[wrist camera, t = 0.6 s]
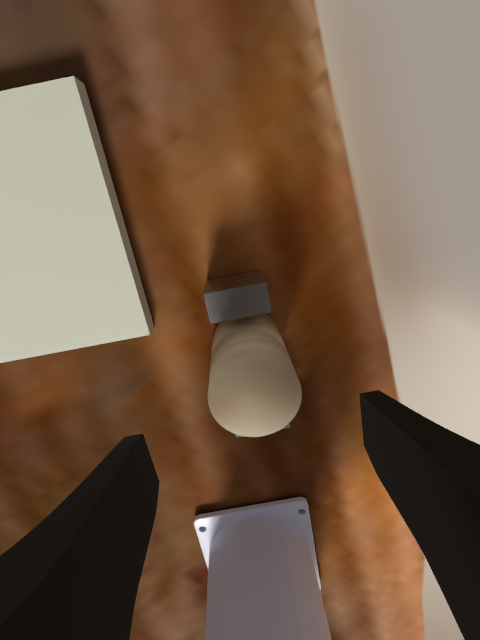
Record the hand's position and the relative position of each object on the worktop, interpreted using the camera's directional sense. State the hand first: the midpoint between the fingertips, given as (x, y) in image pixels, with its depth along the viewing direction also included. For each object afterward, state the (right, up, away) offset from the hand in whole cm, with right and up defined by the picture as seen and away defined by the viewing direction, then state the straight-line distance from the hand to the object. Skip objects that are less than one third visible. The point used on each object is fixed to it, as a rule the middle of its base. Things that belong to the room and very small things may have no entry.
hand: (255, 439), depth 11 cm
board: (-11, +8, +7) cm, 15 cm away
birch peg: (0, +3, +9) cm, 9 cm away
